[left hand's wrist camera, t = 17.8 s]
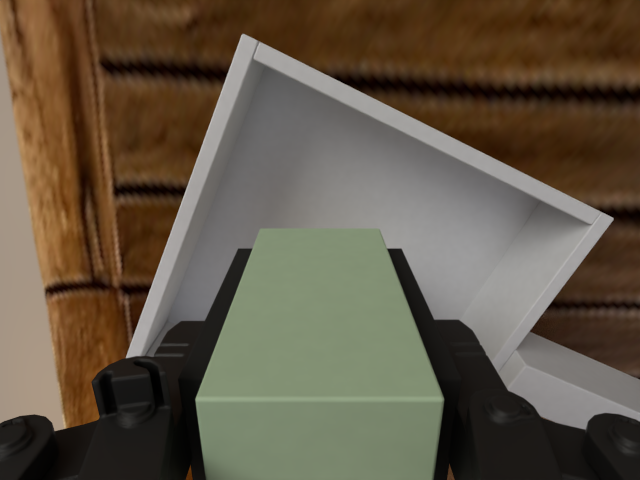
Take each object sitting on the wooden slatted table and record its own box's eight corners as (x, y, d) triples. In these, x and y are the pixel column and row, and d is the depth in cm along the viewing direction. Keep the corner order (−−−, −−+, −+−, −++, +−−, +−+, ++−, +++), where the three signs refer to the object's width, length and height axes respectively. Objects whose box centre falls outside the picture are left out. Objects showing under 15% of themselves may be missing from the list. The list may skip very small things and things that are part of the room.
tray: (156, 320, 23) (108, 390, 18) (260, 42, 18) (236, 30, 13) (580, 482, 27) (639, 576, 22) (761, 291, 22) (891, 356, 17)
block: (379, 227, 14) (445, 398, 7) (374, 330, 16) (423, 564, 8) (259, 227, 14) (193, 399, 7) (265, 330, 16) (216, 564, 8)
